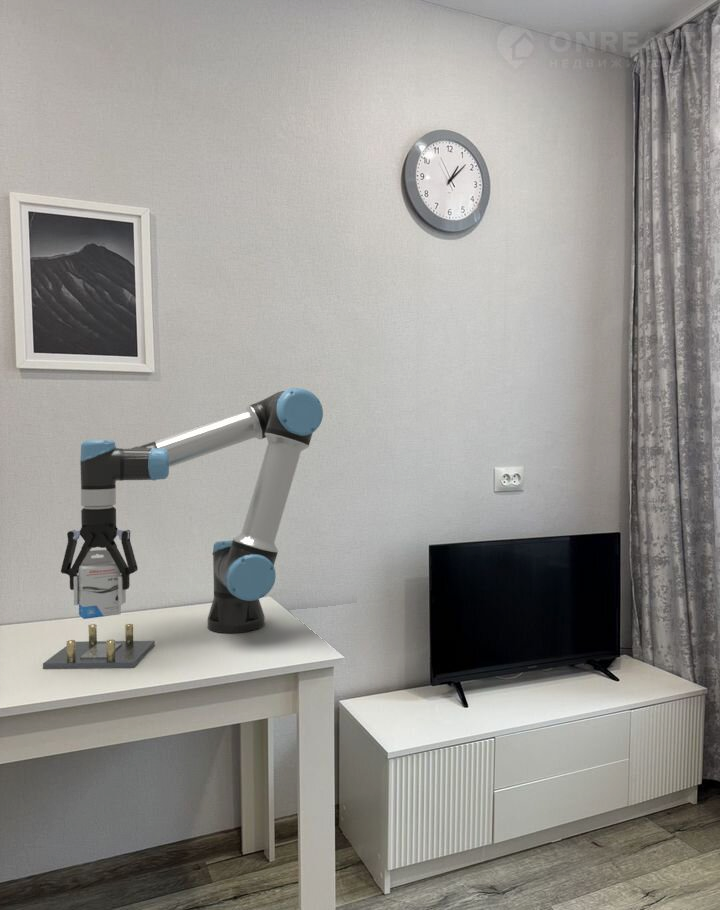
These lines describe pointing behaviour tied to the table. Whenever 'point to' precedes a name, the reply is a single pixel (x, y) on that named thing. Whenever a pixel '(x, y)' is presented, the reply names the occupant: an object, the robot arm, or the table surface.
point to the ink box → (98, 586)
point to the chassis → (100, 652)
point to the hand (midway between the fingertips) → (100, 603)
